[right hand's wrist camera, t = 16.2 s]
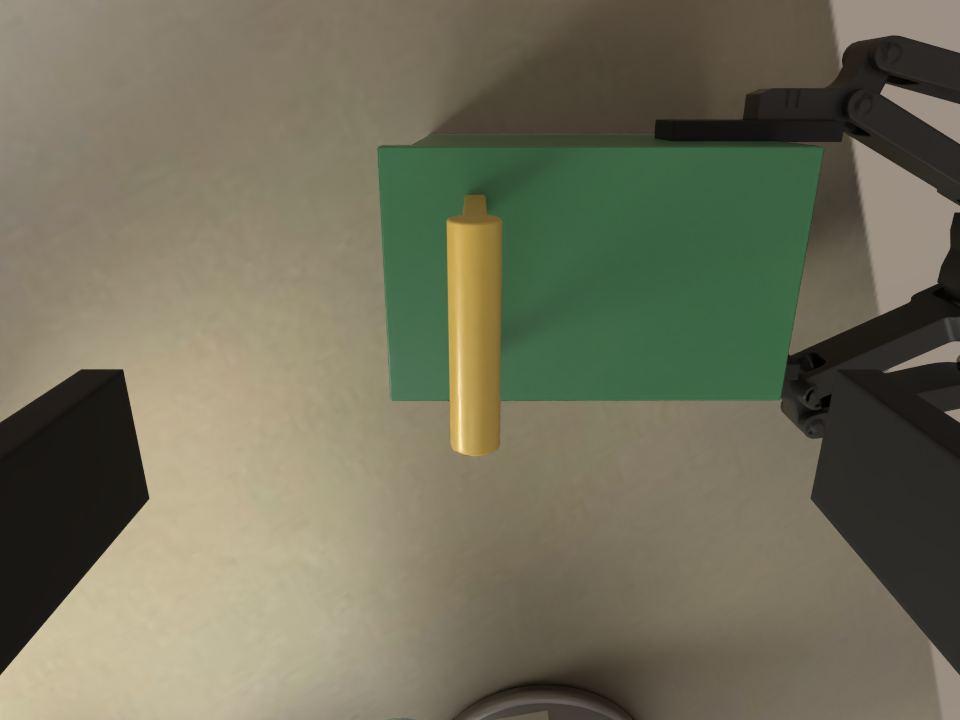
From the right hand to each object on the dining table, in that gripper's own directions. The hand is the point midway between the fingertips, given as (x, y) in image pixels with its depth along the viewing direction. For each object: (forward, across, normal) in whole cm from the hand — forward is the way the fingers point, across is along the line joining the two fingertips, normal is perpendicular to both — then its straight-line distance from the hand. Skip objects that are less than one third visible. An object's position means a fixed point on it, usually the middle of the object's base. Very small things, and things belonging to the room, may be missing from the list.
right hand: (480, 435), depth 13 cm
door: (+13, -4, 0) cm, 13 cm away
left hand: (+17, -7, 0) cm, 18 cm away
